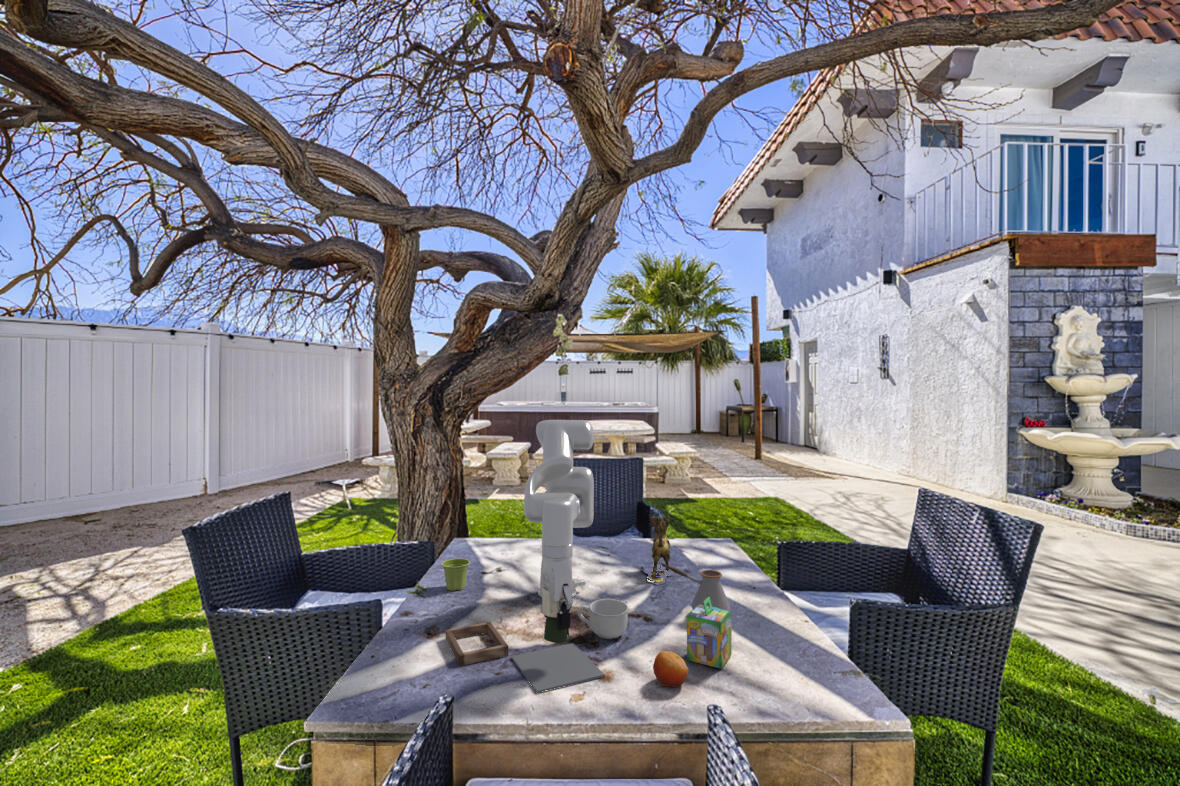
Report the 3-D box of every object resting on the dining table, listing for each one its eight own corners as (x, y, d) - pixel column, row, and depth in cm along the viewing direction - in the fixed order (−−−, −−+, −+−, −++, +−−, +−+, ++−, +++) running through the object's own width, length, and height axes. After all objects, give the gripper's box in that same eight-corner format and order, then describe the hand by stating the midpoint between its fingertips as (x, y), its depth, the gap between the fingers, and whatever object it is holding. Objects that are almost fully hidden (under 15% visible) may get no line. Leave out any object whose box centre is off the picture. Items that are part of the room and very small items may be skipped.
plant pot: (435, 590, 188) (435, 564, 188) (452, 581, 197) (452, 557, 197) (459, 594, 185) (459, 568, 185) (475, 585, 193) (475, 560, 193)
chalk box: (721, 670, 136) (721, 609, 136) (685, 660, 141) (686, 601, 141) (733, 655, 144) (733, 597, 144) (699, 646, 149) (699, 590, 148)
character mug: (561, 652, 130) (561, 596, 130) (533, 647, 133) (533, 592, 133) (578, 633, 141) (578, 581, 141) (552, 629, 143) (552, 578, 143)
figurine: (675, 564, 218) (675, 512, 218) (674, 586, 193) (675, 528, 193) (642, 562, 220) (642, 510, 220) (637, 584, 195) (637, 526, 195)
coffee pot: (729, 610, 173) (729, 561, 173) (731, 625, 162) (731, 573, 162) (660, 604, 177) (660, 557, 177) (657, 619, 166) (657, 568, 166)
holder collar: (490, 630, 157) (490, 621, 157) (508, 655, 143) (508, 645, 143) (445, 638, 152) (445, 629, 152) (459, 666, 137) (459, 655, 137)
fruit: (642, 669, 133) (659, 640, 134) (670, 685, 134) (687, 656, 134) (648, 687, 125) (667, 656, 126) (678, 704, 126) (696, 673, 126)
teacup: (632, 629, 159) (632, 601, 159) (621, 646, 148) (622, 615, 148) (586, 622, 163) (586, 595, 163) (572, 638, 153) (572, 608, 153)
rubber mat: (573, 645, 149) (573, 643, 149) (604, 676, 132) (604, 674, 132) (511, 658, 141) (511, 656, 141) (536, 693, 125) (536, 691, 125)
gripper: (530, 543, 143) (530, 612, 143) (556, 562, 127) (556, 639, 127) (557, 539, 146) (557, 607, 146) (586, 558, 130) (586, 633, 130)
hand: (556, 622), depth 137 cm, fingers closed on character mug, 7 cm apart
